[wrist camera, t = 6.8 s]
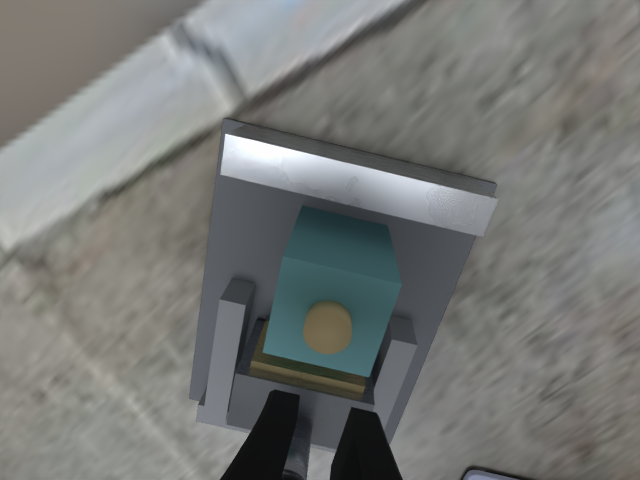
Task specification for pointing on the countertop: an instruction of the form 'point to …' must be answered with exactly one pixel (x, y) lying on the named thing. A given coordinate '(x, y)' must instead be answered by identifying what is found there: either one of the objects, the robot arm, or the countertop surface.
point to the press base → (341, 198)
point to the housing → (334, 292)
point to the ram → (314, 405)
